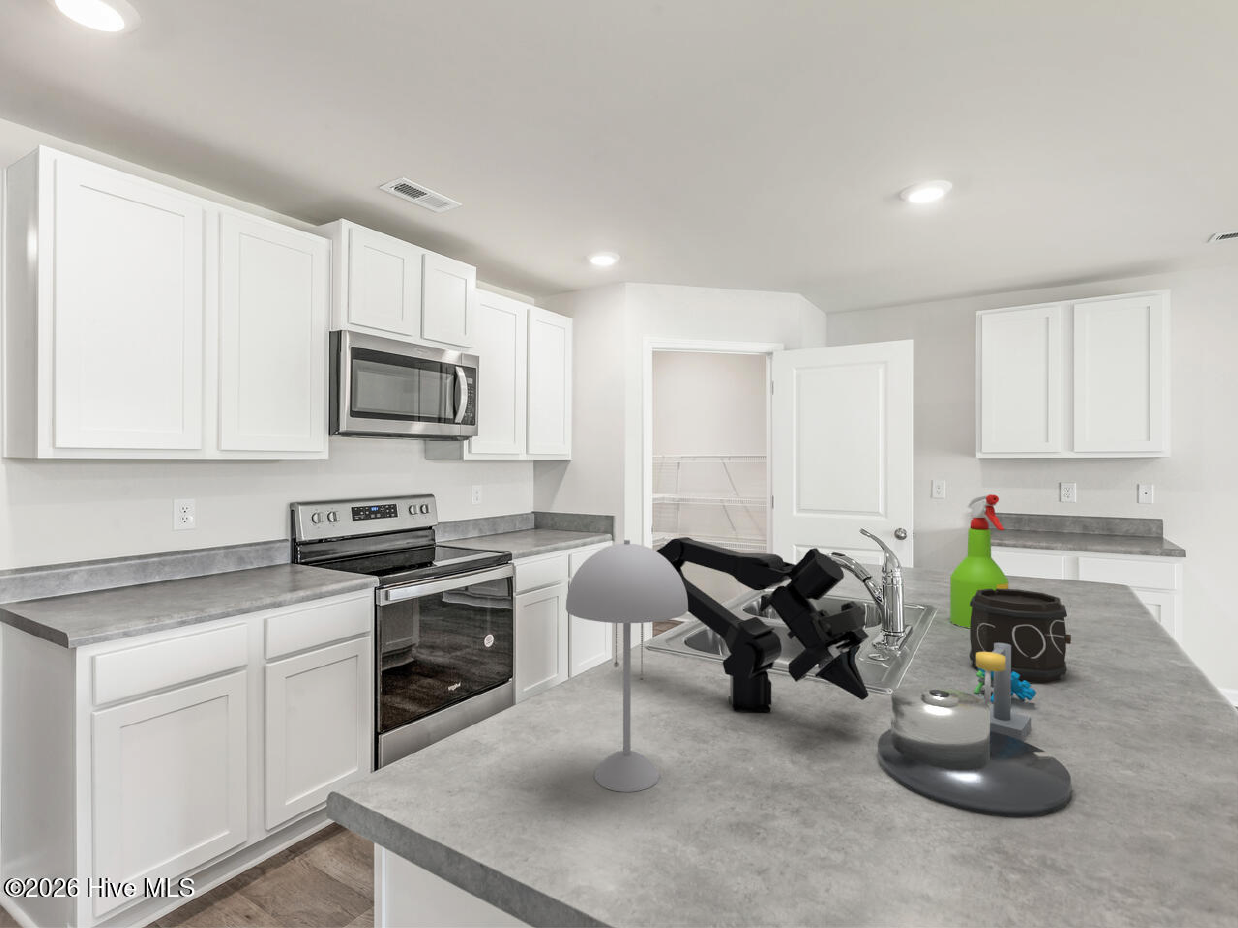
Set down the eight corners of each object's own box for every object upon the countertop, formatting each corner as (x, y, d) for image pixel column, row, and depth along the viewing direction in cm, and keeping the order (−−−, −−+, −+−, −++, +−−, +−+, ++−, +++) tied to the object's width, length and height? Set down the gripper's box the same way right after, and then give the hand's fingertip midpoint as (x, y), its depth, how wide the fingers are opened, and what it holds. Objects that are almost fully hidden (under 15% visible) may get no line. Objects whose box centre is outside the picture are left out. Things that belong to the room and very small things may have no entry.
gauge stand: (983, 717, 113) (984, 636, 113) (1031, 729, 108) (1031, 644, 108) (961, 742, 103) (962, 653, 103) (1012, 755, 99) (1013, 662, 99)
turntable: (921, 815, 82) (922, 796, 82) (854, 734, 106) (855, 719, 106) (1116, 817, 82) (1116, 797, 82) (1004, 735, 106) (1005, 720, 106)
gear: (1050, 699, 117) (1012, 661, 116) (1033, 726, 116) (995, 687, 115) (1000, 686, 128) (966, 652, 127) (984, 711, 126) (949, 676, 126)
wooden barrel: (1073, 692, 125) (1074, 609, 125) (966, 675, 135) (967, 598, 135) (1068, 666, 141) (1069, 593, 141) (973, 653, 150) (973, 584, 150)
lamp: (572, 747, 101) (572, 532, 101) (683, 749, 101) (684, 533, 100) (558, 806, 84) (558, 548, 84) (692, 808, 84) (693, 549, 83)
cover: (913, 768, 90) (914, 709, 90) (877, 729, 103) (877, 677, 103) (1009, 769, 90) (1009, 710, 90) (960, 729, 103) (961, 678, 103)
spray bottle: (975, 635, 165) (976, 495, 164) (940, 617, 183) (941, 491, 182) (1030, 635, 165) (1031, 495, 164) (990, 618, 183) (991, 491, 182)
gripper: (806, 596, 101) (879, 685, 93) (856, 579, 114) (923, 655, 107) (761, 638, 106) (826, 725, 99) (814, 617, 120) (875, 692, 112)
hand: (865, 697), depth 104 cm, fingers closed
